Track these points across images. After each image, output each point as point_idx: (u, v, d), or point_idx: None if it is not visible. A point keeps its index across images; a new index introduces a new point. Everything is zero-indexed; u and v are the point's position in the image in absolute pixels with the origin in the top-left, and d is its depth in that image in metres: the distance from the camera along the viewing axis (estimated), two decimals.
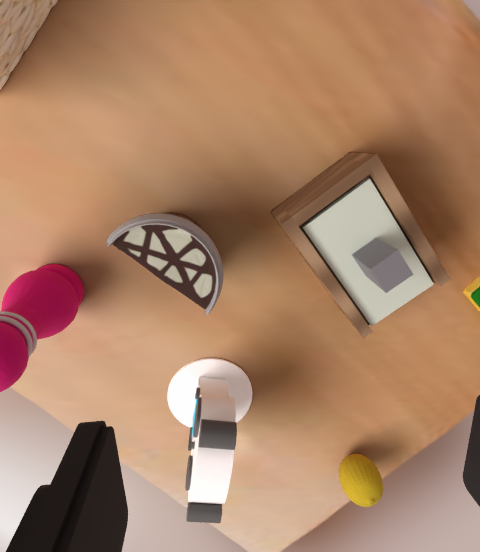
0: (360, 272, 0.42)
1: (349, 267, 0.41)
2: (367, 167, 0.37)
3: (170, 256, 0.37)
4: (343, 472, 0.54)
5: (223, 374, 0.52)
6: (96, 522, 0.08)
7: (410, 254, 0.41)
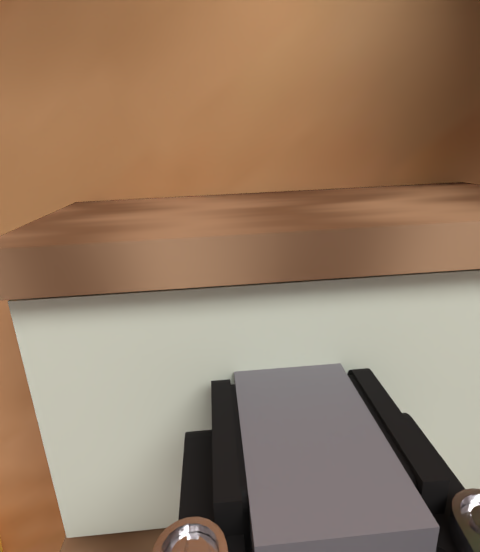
0: (260, 361, 0.11)
1: (303, 337, 0.11)
2: None
3: None
4: None
5: None
6: None
7: None
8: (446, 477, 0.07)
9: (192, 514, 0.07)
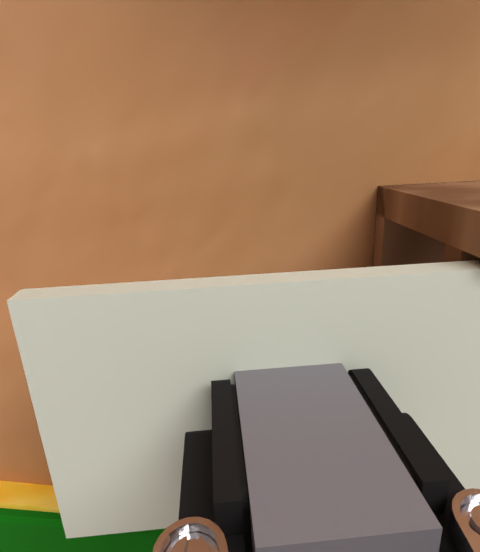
0: (260, 361, 0.11)
1: (304, 336, 0.11)
2: None
3: None
4: None
5: None
6: None
7: None
8: (446, 477, 0.07)
9: (192, 514, 0.07)
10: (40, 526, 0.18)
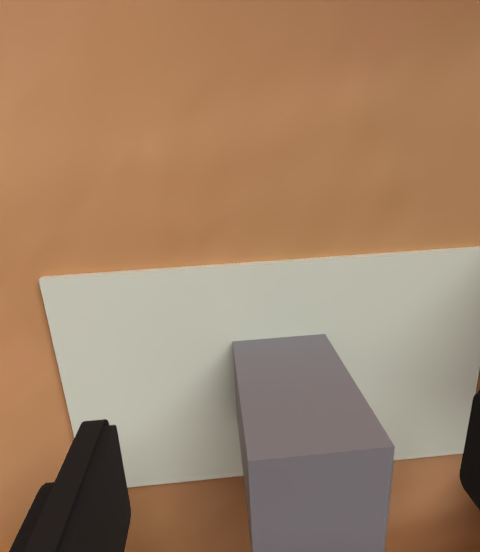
0: (255, 332, 0.12)
1: (292, 310, 0.12)
2: None
3: None
4: None
5: None
6: (100, 519, 0.08)
7: (216, 467, 0.14)
8: None
9: None
10: None
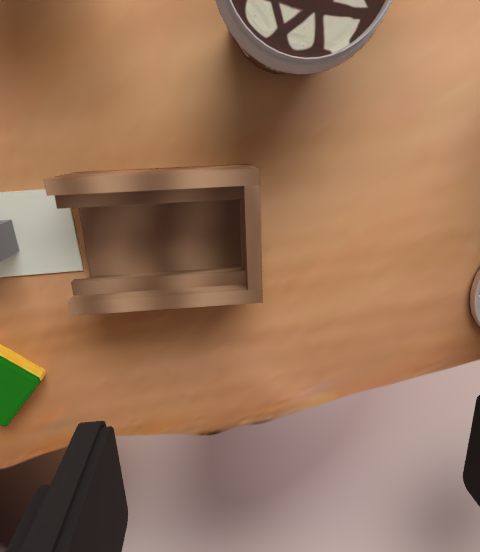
0: None
1: None
2: (255, 288, 0.33)
3: (326, 3, 0.25)
4: None
5: None
6: (96, 522, 0.08)
7: None
8: None
9: None
10: None
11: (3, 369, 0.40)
